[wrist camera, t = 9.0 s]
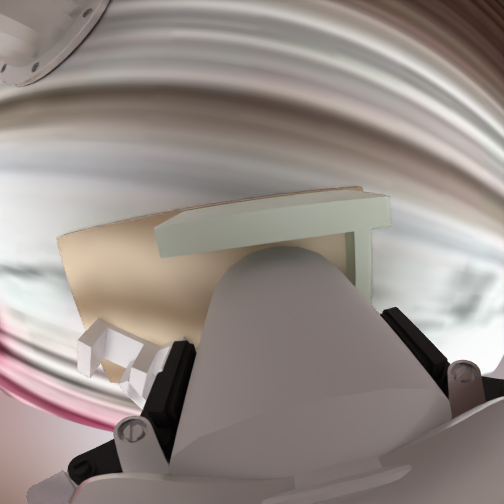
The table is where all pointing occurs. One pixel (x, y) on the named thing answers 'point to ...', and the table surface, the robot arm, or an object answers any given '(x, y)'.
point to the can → (300, 383)
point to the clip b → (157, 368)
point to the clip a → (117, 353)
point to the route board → (158, 277)
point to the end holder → (283, 226)
